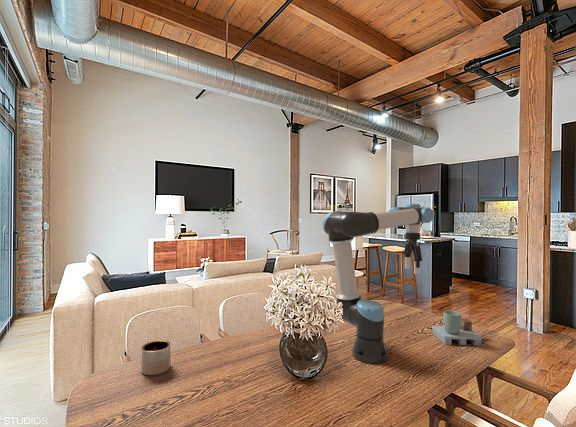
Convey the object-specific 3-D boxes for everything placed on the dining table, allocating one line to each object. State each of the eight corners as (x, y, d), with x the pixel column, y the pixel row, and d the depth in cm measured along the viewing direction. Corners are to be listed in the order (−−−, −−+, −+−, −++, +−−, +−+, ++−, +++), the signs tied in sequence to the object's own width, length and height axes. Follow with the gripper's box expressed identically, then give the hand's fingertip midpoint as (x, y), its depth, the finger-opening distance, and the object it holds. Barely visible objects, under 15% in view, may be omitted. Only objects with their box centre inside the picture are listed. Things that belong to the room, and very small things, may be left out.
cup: (456, 330, 159) (457, 310, 158) (463, 336, 151) (464, 315, 151) (440, 329, 159) (441, 309, 159) (446, 335, 152) (447, 315, 151)
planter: (176, 364, 129) (176, 341, 129) (158, 378, 118) (158, 353, 118) (153, 361, 132) (153, 338, 131) (134, 374, 121) (134, 349, 121)
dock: (444, 344, 150) (444, 336, 150) (431, 333, 164) (431, 325, 164) (482, 345, 150) (482, 337, 150) (466, 333, 164) (466, 326, 164)
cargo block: (463, 331, 157) (463, 322, 157) (457, 327, 162) (457, 319, 162) (471, 330, 158) (471, 321, 158) (465, 327, 163) (465, 318, 162)
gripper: (429, 234, 156) (428, 276, 157) (411, 230, 181) (410, 266, 181) (414, 233, 156) (413, 275, 157) (398, 230, 181) (397, 266, 182)
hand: (412, 271), depth 169 cm, fingers open, 13 cm apart
